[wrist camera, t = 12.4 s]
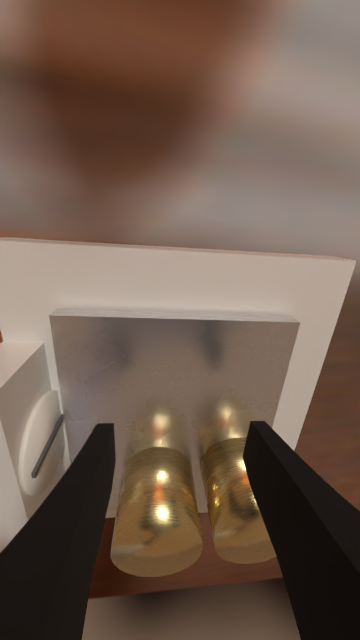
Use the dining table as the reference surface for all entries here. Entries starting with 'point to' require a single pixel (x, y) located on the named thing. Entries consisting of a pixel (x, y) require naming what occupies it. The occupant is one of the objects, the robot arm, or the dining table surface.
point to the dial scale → (139, 295)
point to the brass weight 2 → (233, 505)
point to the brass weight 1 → (156, 515)
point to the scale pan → (168, 378)
